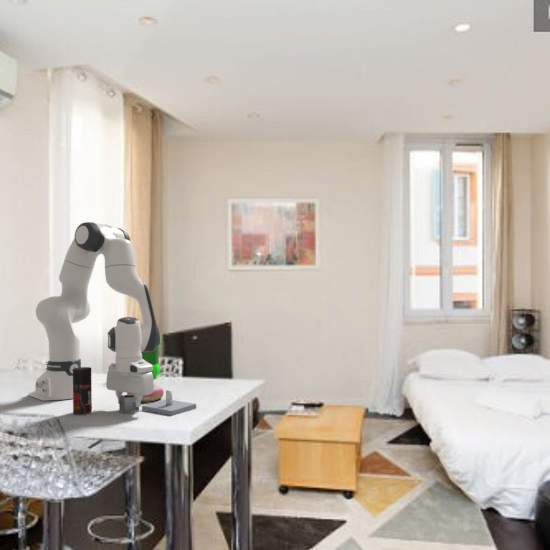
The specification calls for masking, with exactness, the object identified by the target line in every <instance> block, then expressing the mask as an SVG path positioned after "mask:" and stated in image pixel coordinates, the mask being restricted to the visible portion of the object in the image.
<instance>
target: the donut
mask: <svg viewBox="0 0 550 550" xmlns="http://www.w3.org/2000/svg"><path fill="white" fill-rule="evenodd" d="M129 394H132V393H126V395H129ZM135 395H136V394H135ZM162 397H164V389H163V387H161V386H160V385H157V384H154V390H153V392H152V394H149V395H143V398H142V400H141V403H150V402H149V401H151V402H154V401H155V400H156V401H158V399H159V400H161V399H162ZM156 401H155V402H156Z"/></svg>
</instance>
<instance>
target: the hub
mask: <svg viewBox="0 0 550 550" xmlns="http://www.w3.org/2000/svg"><path fill="white" fill-rule="evenodd" d="M136 399H137V397H136V395H135V394H129V395H127V394H122V396H120V397H119V404H118V406H119V408H118V409H119V413H120V412H121V414H133V413H138V412H140V407H134V402H135V401H136ZM137 411H138V412H137Z"/></svg>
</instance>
